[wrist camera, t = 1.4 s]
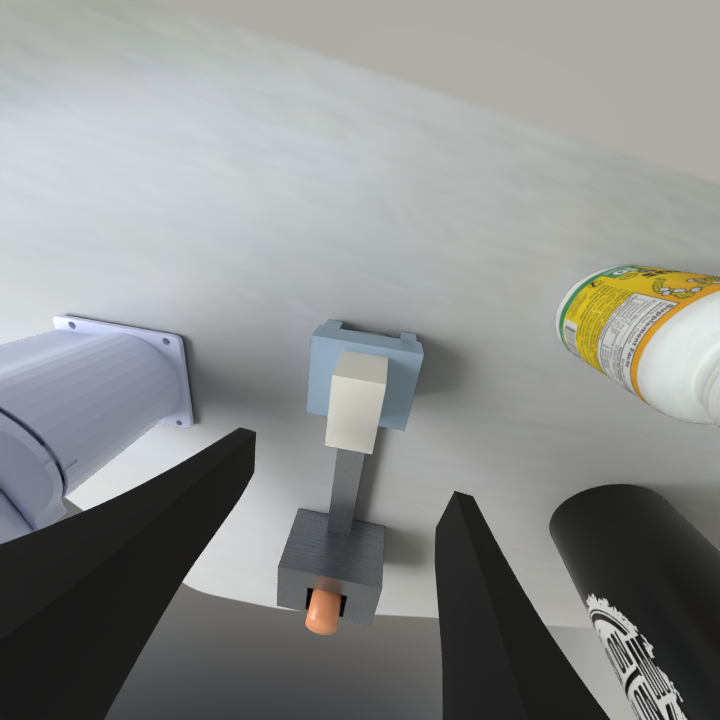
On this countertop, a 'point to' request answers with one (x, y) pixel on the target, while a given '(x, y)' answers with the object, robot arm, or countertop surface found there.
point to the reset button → (323, 612)
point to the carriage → (361, 383)
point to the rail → (345, 486)
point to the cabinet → (332, 566)
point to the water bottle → (647, 597)
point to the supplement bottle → (650, 336)
